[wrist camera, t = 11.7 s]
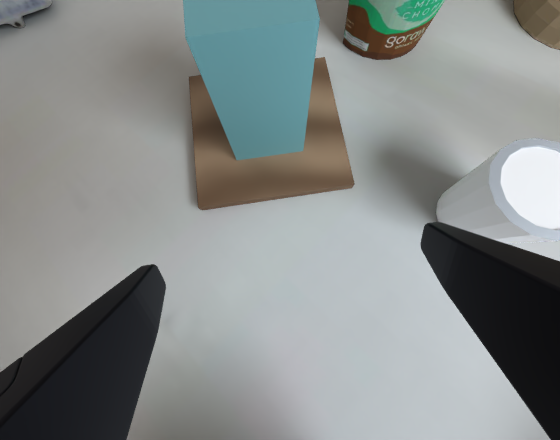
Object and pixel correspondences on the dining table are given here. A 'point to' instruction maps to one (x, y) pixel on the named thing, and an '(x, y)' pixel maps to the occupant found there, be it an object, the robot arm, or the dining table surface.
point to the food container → (387, 26)
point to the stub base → (270, 169)
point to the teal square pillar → (256, 69)
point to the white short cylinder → (509, 195)
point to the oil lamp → (540, 20)
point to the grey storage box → (19, 10)
